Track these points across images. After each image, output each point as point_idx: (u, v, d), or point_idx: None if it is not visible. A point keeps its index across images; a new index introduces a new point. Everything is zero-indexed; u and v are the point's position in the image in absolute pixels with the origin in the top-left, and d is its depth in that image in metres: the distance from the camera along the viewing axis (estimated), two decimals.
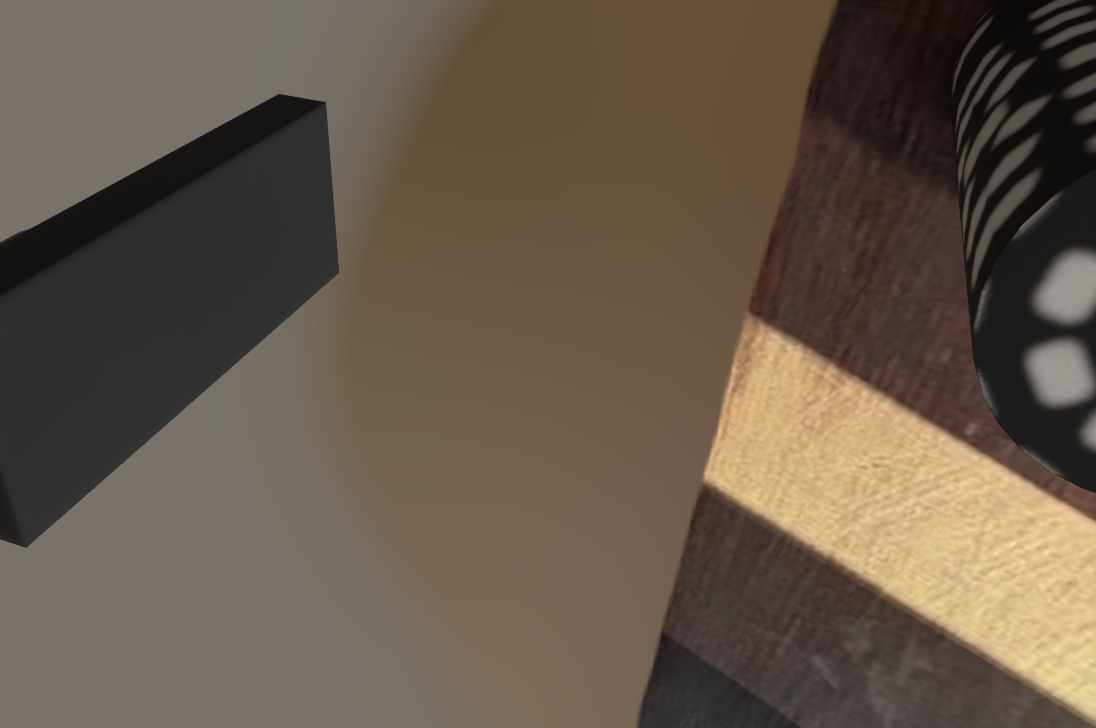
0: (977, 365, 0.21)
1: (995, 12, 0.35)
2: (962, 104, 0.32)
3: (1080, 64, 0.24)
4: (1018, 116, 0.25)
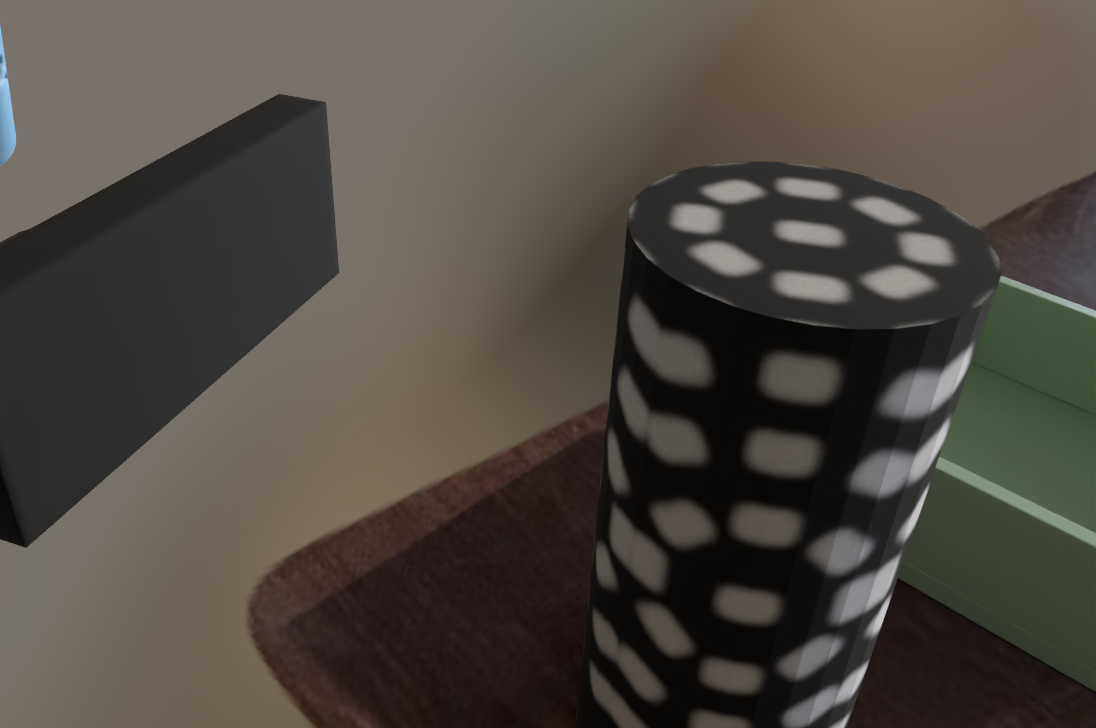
0: (775, 315, 0.20)
1: None
2: (625, 715, 0.28)
3: None
4: (613, 467, 0.25)
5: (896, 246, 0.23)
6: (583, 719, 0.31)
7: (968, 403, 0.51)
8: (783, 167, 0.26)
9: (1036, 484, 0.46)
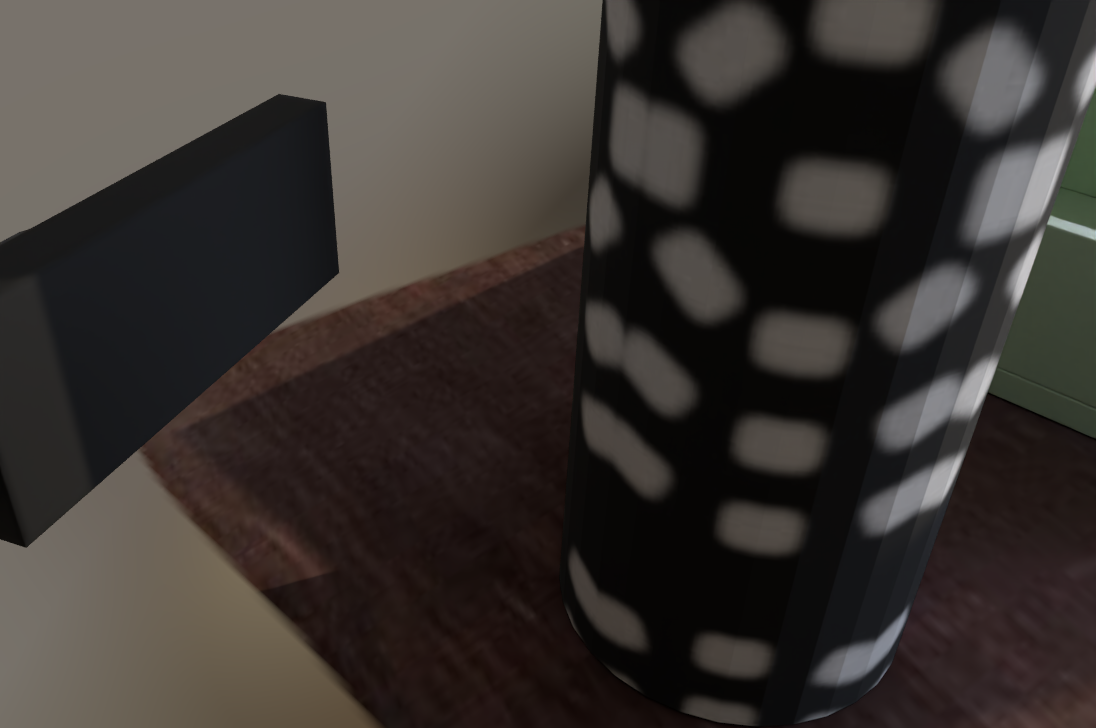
0: None
1: (566, 561, 0.23)
2: (634, 454, 0.19)
3: None
4: (615, 20, 0.16)
5: None
6: (573, 495, 0.22)
7: None
8: None
9: None
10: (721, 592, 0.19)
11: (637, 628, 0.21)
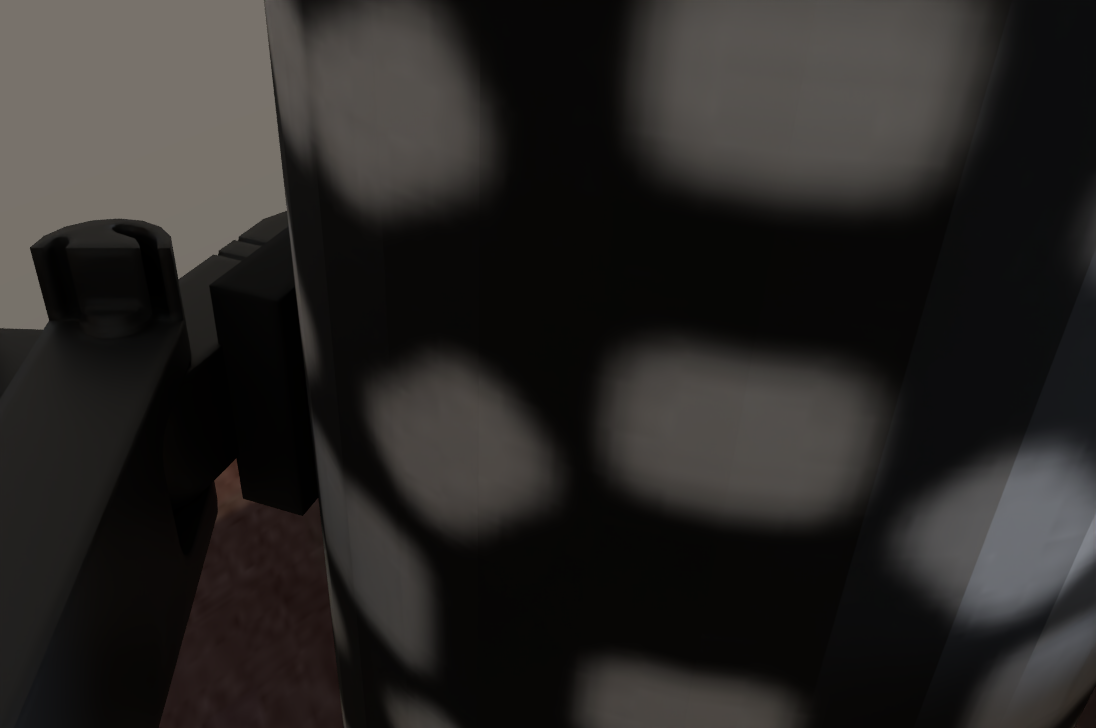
0: None
1: None
2: None
3: None
4: (298, 301, 0.09)
5: None
6: None
7: None
8: None
9: None
10: None
11: None
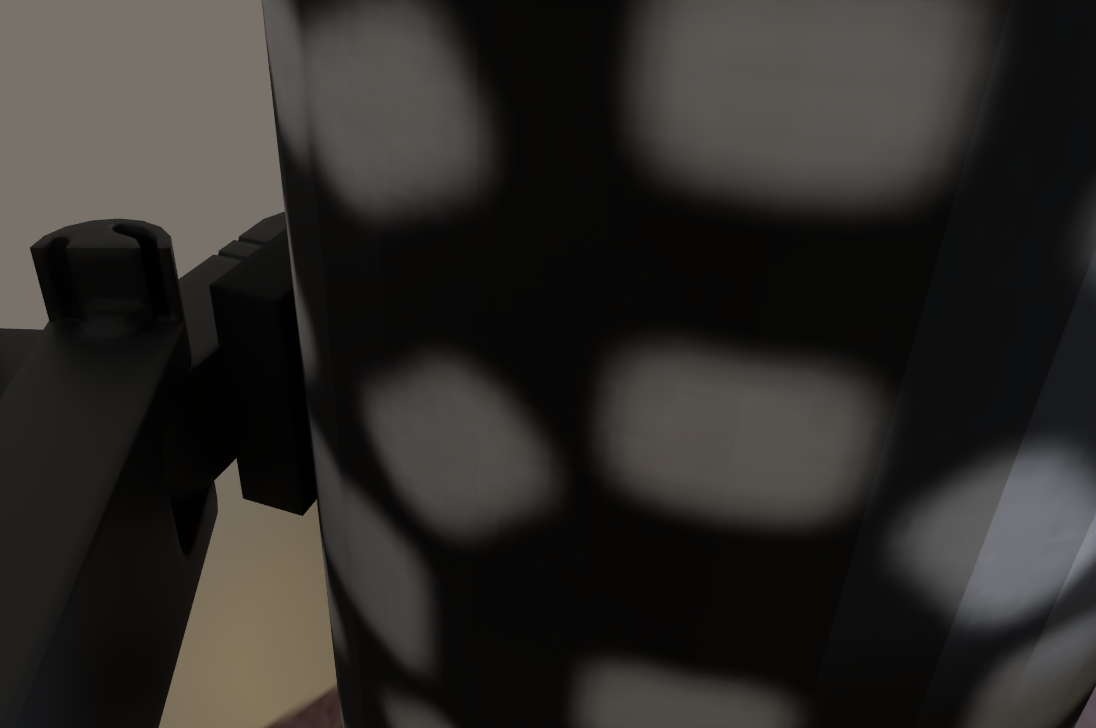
0: None
1: None
2: None
3: None
4: (296, 302, 0.09)
5: None
6: None
7: None
8: None
9: None
10: None
11: None
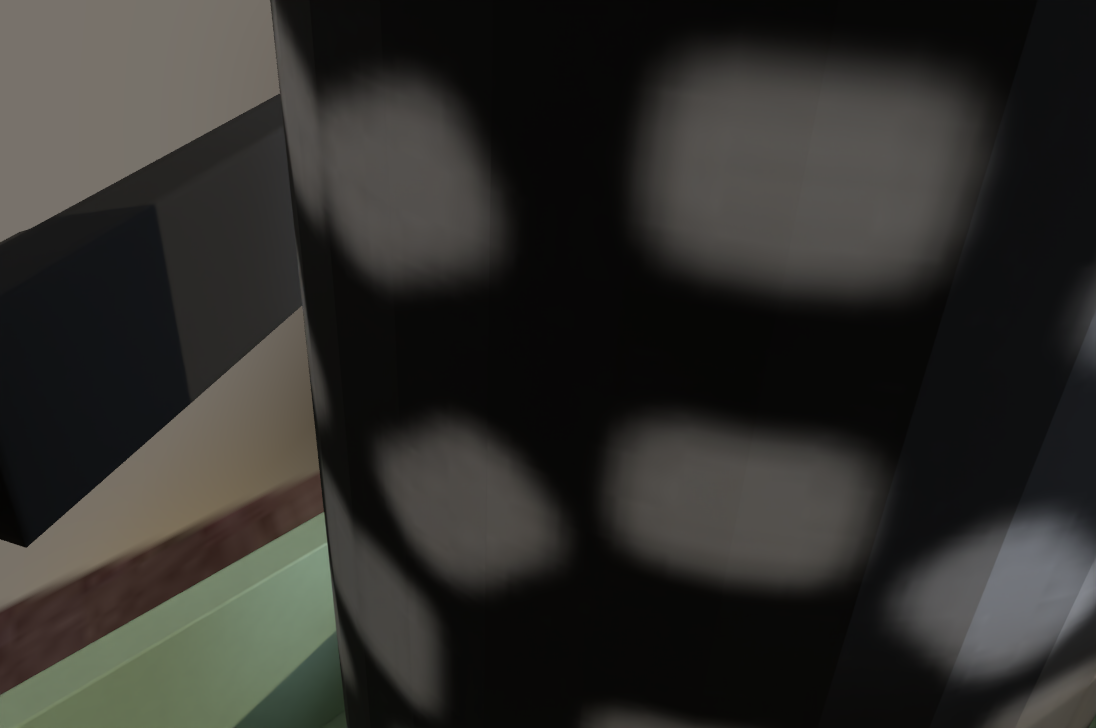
0: None
1: None
2: None
3: None
4: (308, 349, 0.09)
5: None
6: None
7: None
8: None
9: None
10: None
11: None
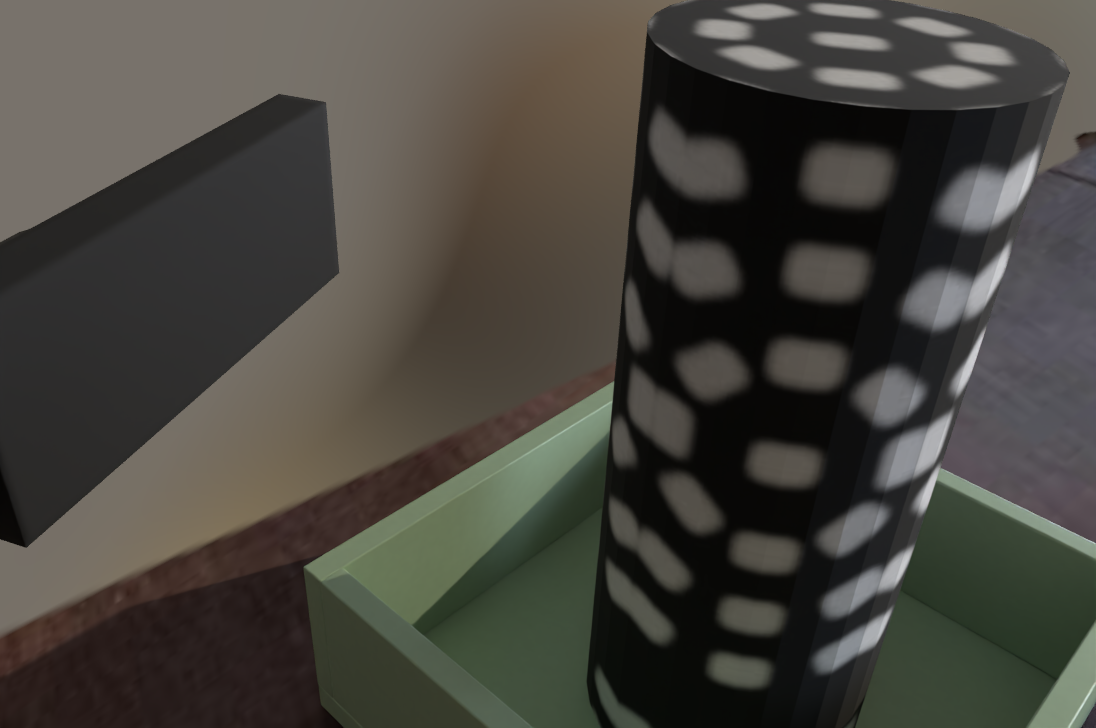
0: (820, 98, 0.17)
1: (592, 673, 0.30)
2: (646, 611, 0.26)
3: (620, 316, 0.25)
4: (632, 322, 0.23)
5: (949, 51, 0.20)
6: (599, 628, 0.29)
7: None
8: None
9: None
10: (711, 712, 0.26)
11: None
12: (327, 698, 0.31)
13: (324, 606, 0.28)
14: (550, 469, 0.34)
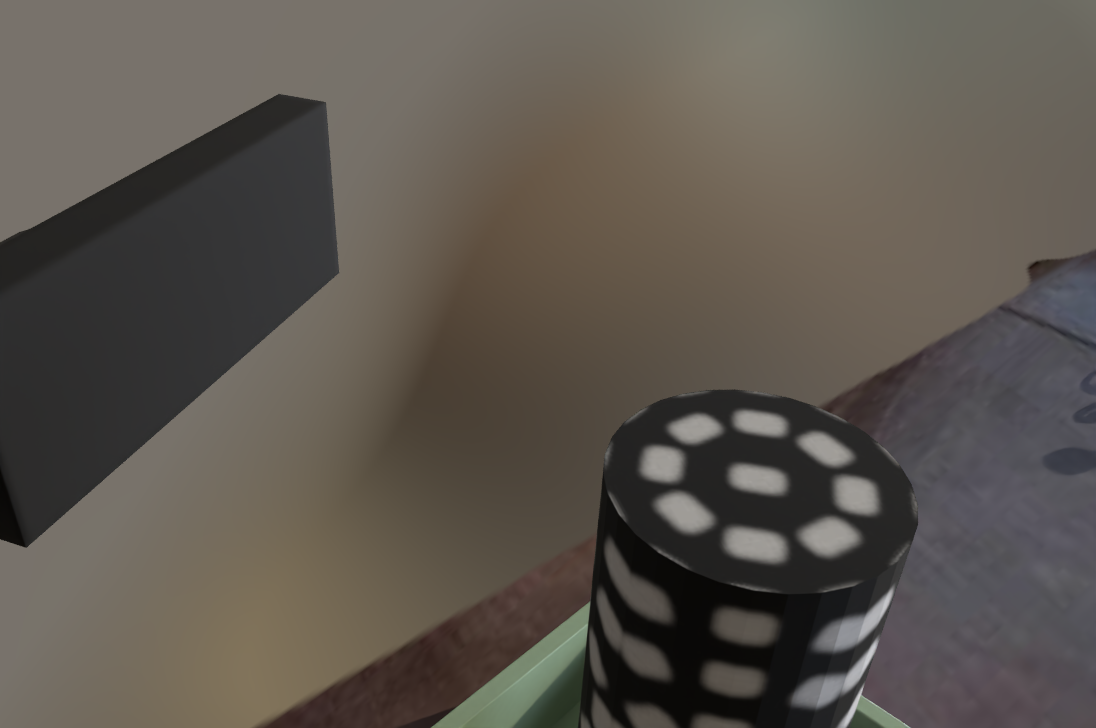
0: (723, 580, 0.24)
1: None
2: None
3: None
4: (594, 661, 0.29)
5: (831, 493, 0.27)
6: None
7: None
8: (740, 396, 0.30)
9: None
10: None
11: None
12: None
13: None
14: (534, 688, 0.41)
